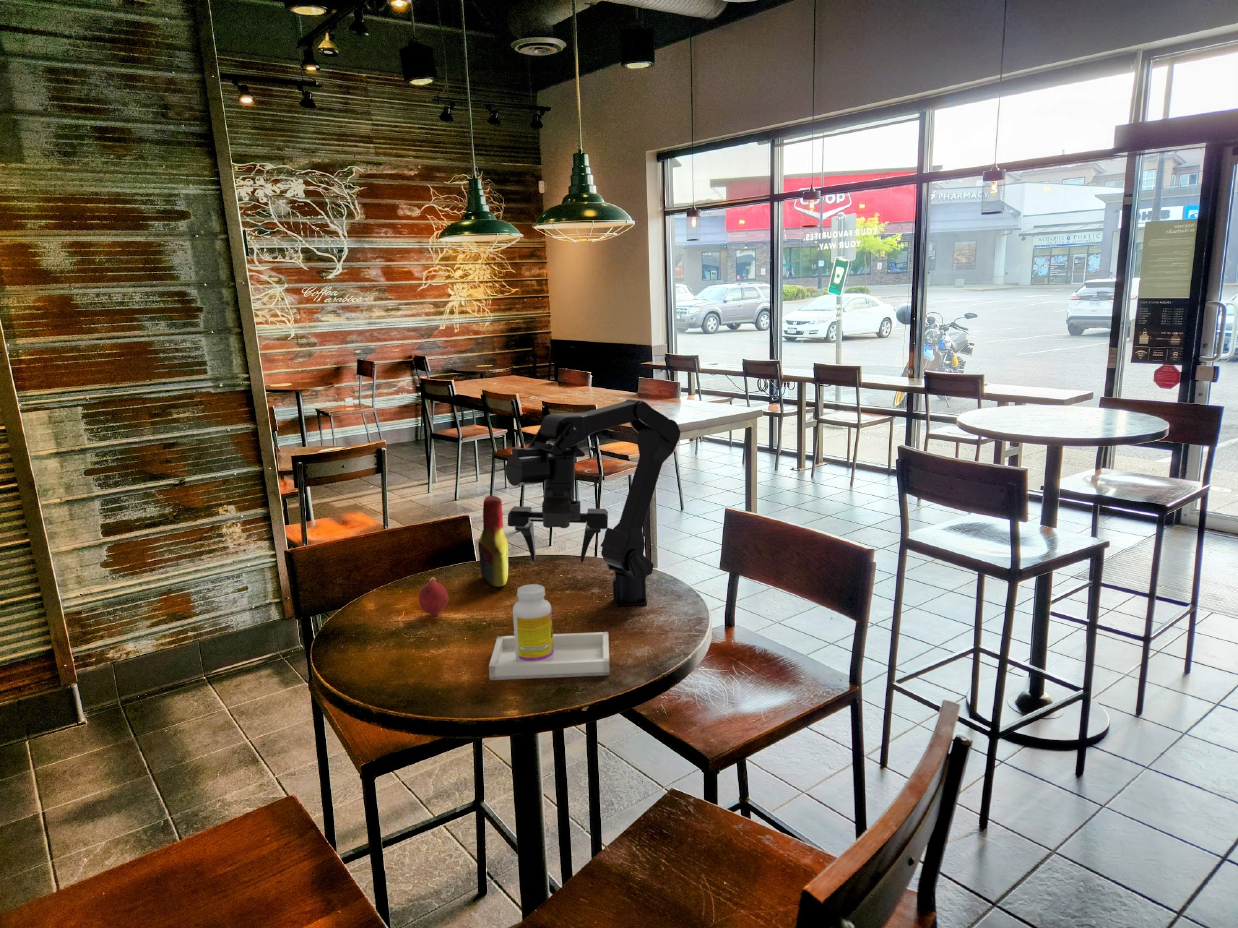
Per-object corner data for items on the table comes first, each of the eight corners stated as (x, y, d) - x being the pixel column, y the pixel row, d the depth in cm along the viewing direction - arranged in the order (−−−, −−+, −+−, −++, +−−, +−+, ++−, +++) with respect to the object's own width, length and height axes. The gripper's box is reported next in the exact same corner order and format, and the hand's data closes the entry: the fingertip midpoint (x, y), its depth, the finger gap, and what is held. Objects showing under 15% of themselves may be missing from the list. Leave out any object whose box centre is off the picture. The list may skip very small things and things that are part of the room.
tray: (608, 644, 143) (608, 631, 142) (609, 674, 131) (609, 661, 131) (498, 649, 142) (497, 636, 142) (489, 680, 131) (488, 666, 130)
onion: (434, 623, 155) (431, 584, 154) (414, 617, 158) (410, 580, 157) (455, 613, 160) (452, 575, 159) (435, 608, 163) (432, 571, 162)
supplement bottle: (559, 662, 135) (555, 591, 133) (522, 670, 132) (518, 598, 130) (546, 647, 141) (543, 579, 139) (511, 655, 138) (506, 586, 136)
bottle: (514, 588, 173) (509, 500, 169) (485, 592, 172) (479, 503, 168) (505, 571, 185) (500, 489, 181) (478, 575, 183) (472, 491, 179)
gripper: (504, 487, 140) (503, 572, 142) (608, 490, 140) (606, 574, 143) (512, 477, 151) (511, 555, 153) (608, 480, 151) (606, 558, 154)
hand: (557, 561), depth 150 cm, fingers open, 9 cm apart
